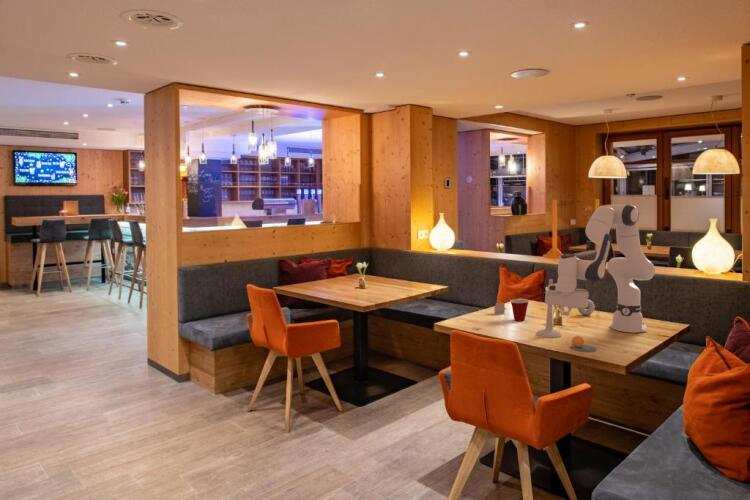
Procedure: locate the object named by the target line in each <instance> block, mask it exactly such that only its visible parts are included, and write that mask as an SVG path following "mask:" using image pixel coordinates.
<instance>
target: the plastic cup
mask: <svg viewBox="0 0 750 500" xmlns="http://www.w3.org/2000/svg"><path fill="white" fill-rule="evenodd" d="M509 302H510V304H511V307H512V308H511V309H512V314H513V319H514V321H516V322H524V321H525V320H526V315H527V310H528V305H529V302H530V300H529V299H523V298H517V299H516V298H515V299H510V301H509Z"/></svg>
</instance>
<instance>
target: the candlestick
mask: <svg viewBox="0 0 750 500" xmlns="http://www.w3.org/2000/svg"><path fill="white" fill-rule="evenodd" d="M551 284H554V279H552V278H549V279H548V286H549V285H551ZM553 320H554V317H553V305H550V304H547V310H546V321H545V328H543V329H539V330H538V331H536V333H535V334H536V335H537V336H538V337H541V338H547V339H558V338H559V339H560V338H562V337H563V334H562V333H561V332H560V331H559V330H555V329H554V328H553V327H554V324H553Z"/></svg>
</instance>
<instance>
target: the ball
mask: <svg viewBox="0 0 750 500" xmlns="http://www.w3.org/2000/svg"><path fill="white" fill-rule="evenodd" d="M584 342H585V341H584V339H583V337H582V336H580V335H575V336H573V337H572V340H571V343H572V345H573V346H575V347H578V348H579V347H582V346H583V345H585V343H584Z"/></svg>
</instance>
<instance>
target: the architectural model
mask: <svg viewBox="0 0 750 500" xmlns="http://www.w3.org/2000/svg"><path fill="white" fill-rule="evenodd" d="M505 305H506V303H505V302H501V301H500V302H495V306H494V310H493V311H494V313H493V314H494V315H505V310H507V308H506V306H505Z"/></svg>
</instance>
